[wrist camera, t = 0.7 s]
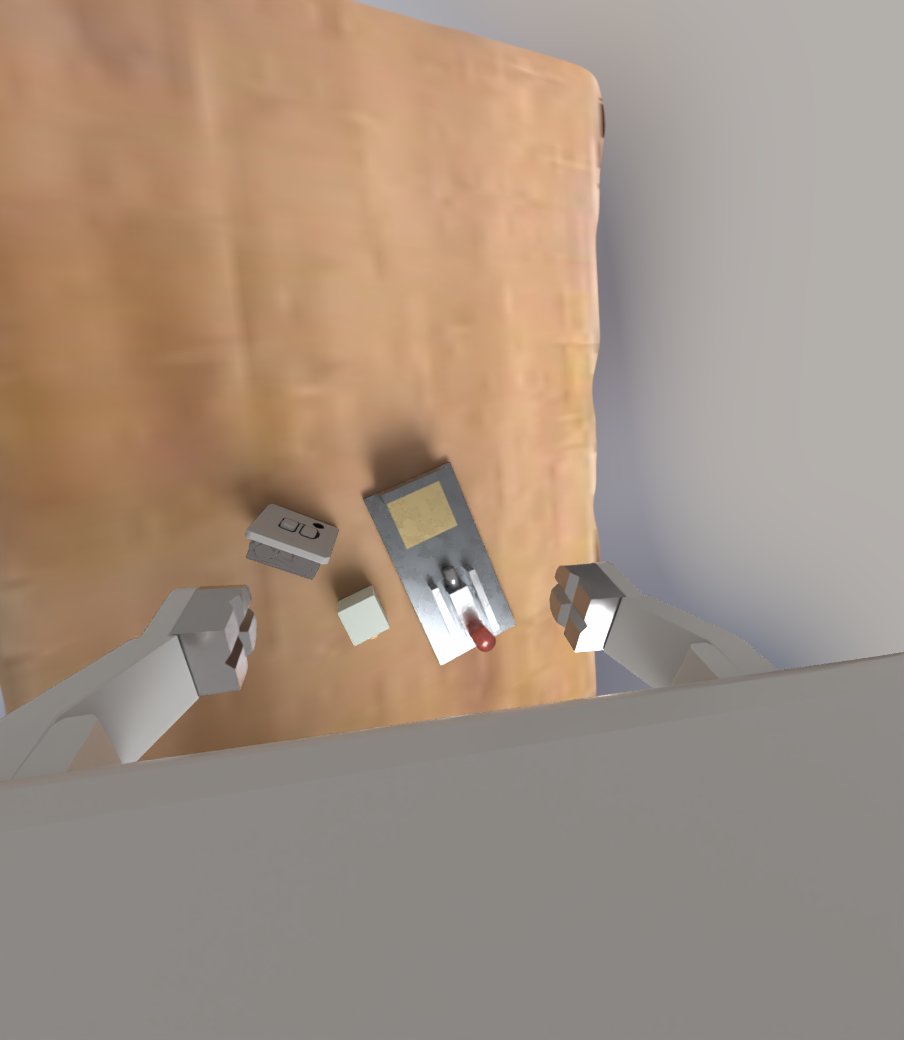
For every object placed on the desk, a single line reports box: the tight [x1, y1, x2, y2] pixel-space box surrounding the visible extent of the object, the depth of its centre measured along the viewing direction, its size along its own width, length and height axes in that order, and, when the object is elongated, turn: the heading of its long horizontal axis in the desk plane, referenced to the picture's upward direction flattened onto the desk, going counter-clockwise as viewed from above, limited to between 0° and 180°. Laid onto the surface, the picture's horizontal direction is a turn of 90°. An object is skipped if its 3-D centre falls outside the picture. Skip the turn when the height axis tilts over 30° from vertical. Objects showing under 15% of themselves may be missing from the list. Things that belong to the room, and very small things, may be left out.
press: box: [364, 462, 516, 665], centre depth 54 cm, size 27×13×7 cm, turn 23°
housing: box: [337, 585, 390, 646], centre depth 53 cm, size 6×5×5 cm
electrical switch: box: [245, 504, 339, 580], centre depth 48 cm, size 9×5×9 cm, turn 67°
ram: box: [442, 566, 496, 652], centre depth 54 cm, size 11×3×7 cm, turn 23°
